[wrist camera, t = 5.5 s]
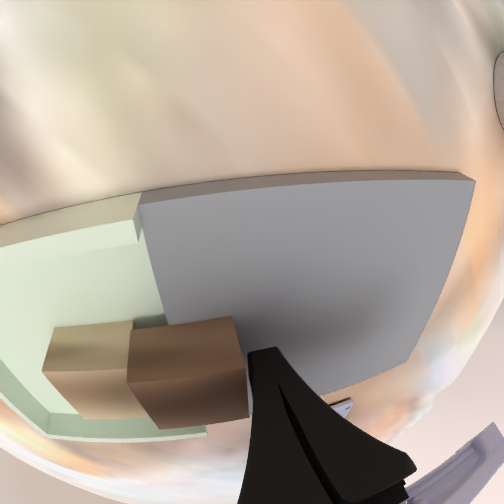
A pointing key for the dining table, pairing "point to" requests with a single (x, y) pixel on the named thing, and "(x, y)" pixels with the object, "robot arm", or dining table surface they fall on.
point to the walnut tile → (189, 373)
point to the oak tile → (93, 369)
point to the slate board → (310, 263)
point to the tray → (74, 308)
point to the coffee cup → (499, 87)
